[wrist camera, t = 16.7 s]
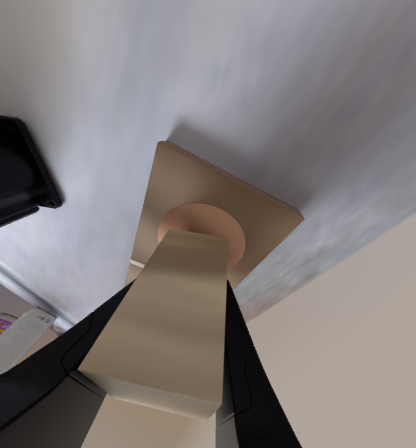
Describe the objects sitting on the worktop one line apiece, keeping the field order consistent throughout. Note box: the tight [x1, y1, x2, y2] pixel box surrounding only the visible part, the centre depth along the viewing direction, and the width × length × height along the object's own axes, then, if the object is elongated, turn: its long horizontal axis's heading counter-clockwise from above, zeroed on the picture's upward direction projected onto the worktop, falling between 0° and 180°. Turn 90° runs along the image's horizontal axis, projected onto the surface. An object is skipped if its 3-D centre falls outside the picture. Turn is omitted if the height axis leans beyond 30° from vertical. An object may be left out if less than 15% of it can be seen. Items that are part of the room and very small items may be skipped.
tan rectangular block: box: [78, 228, 228, 421], centre depth 8 cm, size 4×4×7 cm
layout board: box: [125, 141, 305, 290], centre depth 15 cm, size 22×10×1 cm, turn 155°
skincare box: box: [0, 308, 56, 374], centre depth 24 cm, size 6×4×12 cm
